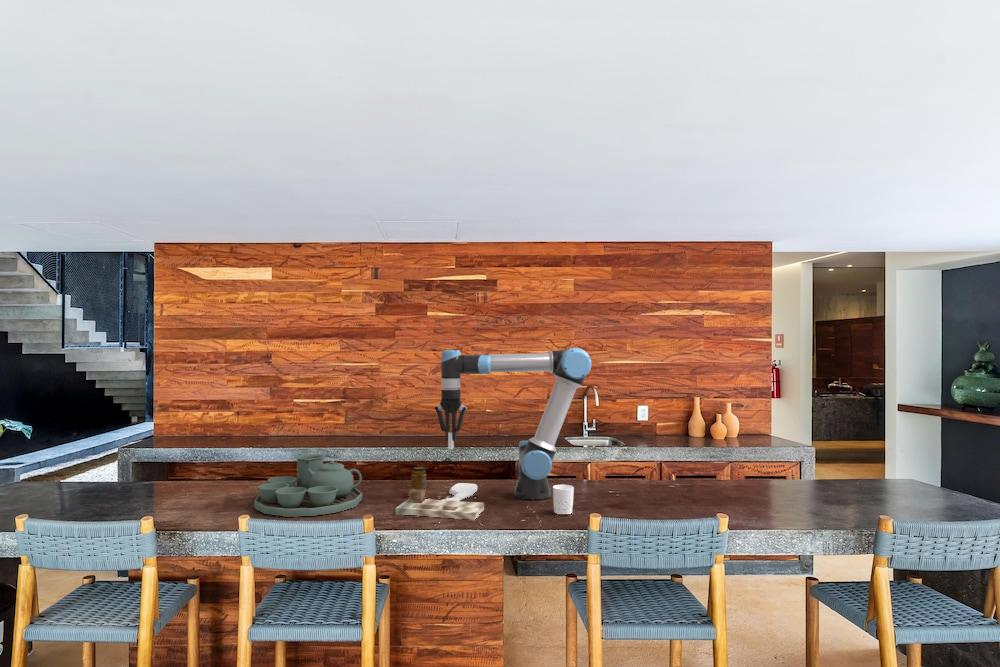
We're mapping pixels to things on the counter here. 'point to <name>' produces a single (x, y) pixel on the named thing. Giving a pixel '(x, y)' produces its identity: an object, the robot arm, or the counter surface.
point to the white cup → (563, 499)
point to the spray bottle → (462, 491)
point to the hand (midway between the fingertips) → (450, 448)
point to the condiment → (418, 478)
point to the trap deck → (442, 509)
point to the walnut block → (416, 496)
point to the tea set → (310, 489)
